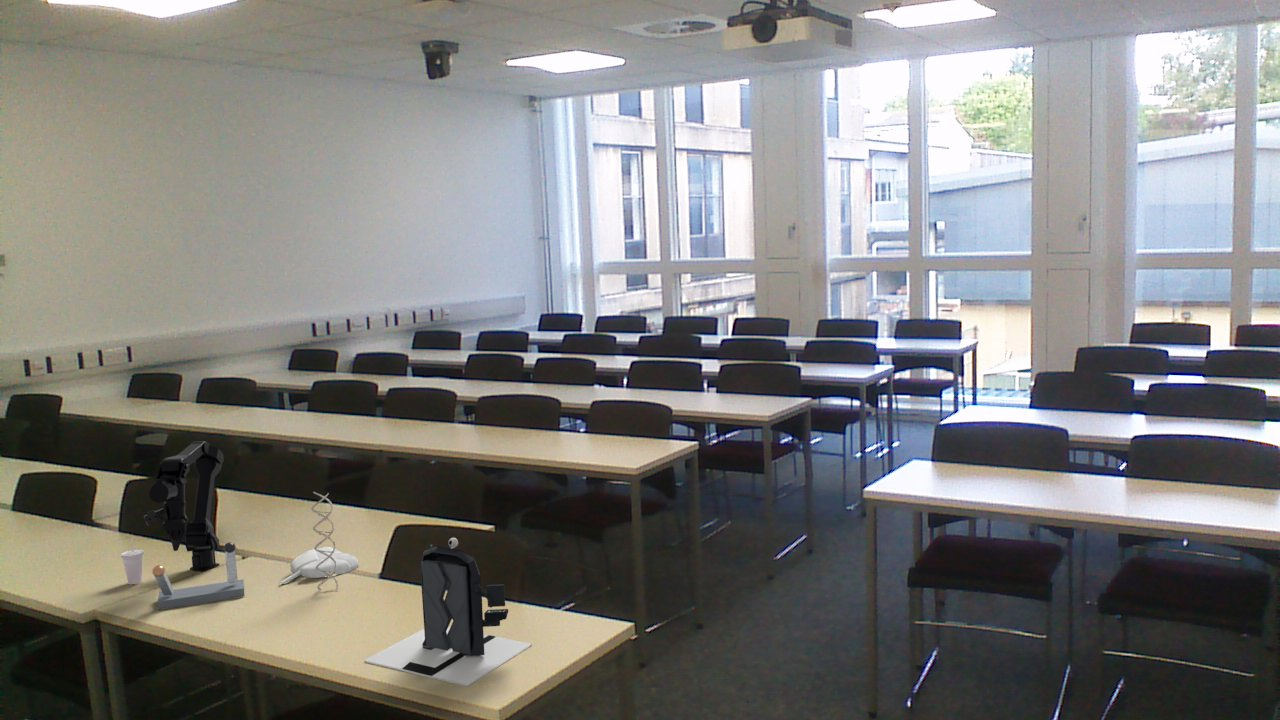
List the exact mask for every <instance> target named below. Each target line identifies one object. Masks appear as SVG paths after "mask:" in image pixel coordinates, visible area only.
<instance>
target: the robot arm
mask: <svg viewBox="0 0 1280 720" xmlns="http://www.w3.org/2000/svg"><path fill="white" fill-rule="evenodd" d="M224 459H225V456H224V453H223V452H222V451H221V450H220V449H219V448H218V447H216V446H214V445H211V444H210V443H209V442H208V441H205V440H203V441H202V440H201V441H192V442H190V444H189V445H188V446H187V447H186V448H184V449H183V450H182V451H180V452H179V453H178V454H177V455H173V456H168V457H165V458H163V459H162V460H161V462H160V463H159V466H158V468H157V472H156V475H155V478H154V482H155V484H153V485H152V486H151V487H150V489H149V491H148V495H149V498H150V499H151V501H152V502H153V503H157V504H159V503H160V504H161V503H163V505H162V508H160V509H157V510H154V509H151V510H149V511H147V512H146V513H147V514H145V515H144V516H143V520H144V521H145V523H146V525H147V527H149V526H152V525H153V524H155V523H158V522H159V521H163V523H162V525H161V526H162V531H164V532H166V533H167V534H168V535H169V538H170V541H171V546H172V549H173V550H172V551H173V552H177V551H179V548H180V545H181V543H182V540H183V539H184V540H183V542H184V544H185V549H186V552H188V553H189V552H191V565H192V566H191V567H189V570H190V571H191V570H194V571H200V572H206V571H208V570H211V569H214V568H216V567H218V566H220V563H219V562H218V563H217V562H216V552H215V550H218V549H219V548H220V539H219V537H217V535H216V533H215V528H214V526H213V524H212V522H211V513H212V506H213V505H212V504H213V498H214V497H213V495H214V487H215V481H216V480H215V479H216V477H217V475H218V474H219V473H220V472H221V470H222V466H223V463H224ZM193 463H194V468H195V470H196V472H197V474H198V483H197V489H196V497H195V498H196V499H195V505H194V511H193V513H194V514H193V519H192V520H191V521H190V522H188V516H187V514H186V484H187V483H188V480H187V479H186V477H187V475H188V473H189V472H190V470H191V469H190V466H191V465H192V464H193Z"/></svg>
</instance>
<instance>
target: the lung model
mask: <svg viewBox="0 0 1280 720" xmlns="http://www.w3.org/2000/svg"><path fill="white" fill-rule="evenodd" d="M333 548H334V547H330V546H322V547H319V548H318V547H317V549H318V550H320V551H326V552H324V553H326V554H328V555H330V554H331V553H330V552H332V551H333ZM327 551H329V552H327ZM327 557H328V556H326V555H324V554H321V553H320V552H318V551H316V550H315V549H314V548H311V549H309V550H306V551H304V552H303V553H301V554H300V555H298V556H297V557H295V558H293V559H292V561H291V562H290V568H289V569H290V571H291V573H292V574H291V575H289V576H288V577H286V578H285V579H283V580H281V581H280V582H279V584H280V583H282V584H284V583H286V582H288V581H289V582H291V581H293V580H295V579H296V578H298V577H299V576H303V577H307V578H310V579H311V578H312V579H315V578H326V577H325V576H329V575H327V574H325V573H323V572H320V571H318V570H317V569H316V566H317V565H318V564H319V563H320V562H322V561H323V560H324V559H326V558H327ZM331 557H333V558H334V560H335V561H336V564H337V569H336V571H335V573H334V574H340V575H344V574H347V573H349V572H351V571H353V570H356V569H358V568H359V566H360V565H359V559H358V558H357V557H355V556H354V555H352V554H351V553H345V552H341V551H340V550H338V549H336V548H335V551H334V553H333V554H332V555H331ZM318 568H319V569H320V570H324V571H326V572H327V573H328V574H330V575H331V574H332V572H333V571H334V568H335V563H334V561H333V560H332V559H331V558H328V559H327V560H326V561H325V562H324V563H322V564H321V565H319V566H318ZM328 571H332V572H328ZM289 582H288V583H289ZM286 584H287V583H286Z"/></svg>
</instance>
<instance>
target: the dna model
mask: <svg viewBox="0 0 1280 720" xmlns="http://www.w3.org/2000/svg"><path fill="white" fill-rule="evenodd" d="M312 492H313V494H314V495H317V496H318V497H320V498H321V499H320V500H318V501H317V502H316V503H314V504H313V505H312V507H311V511H312V513H315V514H317V515H318V516H320V517H323V518H322V519H321V520H319V521H318V522H317V523H316V524H315V525H314V526H313V527H312V530H313V531H314V532H315V533H317V534H318V535H319V536H321V535H322V536H324V538H323V539H322V540H320V541H319V542H318V543H316V545H315V546H314V548H313V549H315V550H316V551H318V552H320V553H321V554H324V555H326V556H328V557H327V558H326V559H324V560H323V561H322V562H320V563H319V564H318V565H317V566H316V569H317V570H318V571H320V572H323V573H325V574H327V575H329V577H326V579H324V580H323V581H321V582H320V583H319V584H317V586H316V587H317V589H318V590H319V589H321V590H322V588H321V586H322V585H323V584H325V583H326V582H327V581H328V580H330V579H331V578H332V579H333V580H334V582H335V584H336V585H335V586H336V588H335V590H337V591H338V589H339V581H338V579H337V578H336V576H332V575H333V574H334V573H335V571H336V569H337V564H336V561H335V560H334V558H333V557H331V555H332V554H333V553H334V551H335V549H336V541H335V540H334V539H332V537H330V536H332V534H333V533H334V531H335V524H334V522H333V521H332V520H331V519H330V518H329V516H330V515H331V514H332V513H333V508H334V507H333V503H332V501H331V500H330V499H329V498H327V497H328V495H330V493H329V492H327V494H326V495H322V494H321V493H317V492H316V491H312ZM324 500H326V501H327V503H329V505H330V509H329V511H319V510H315V507H316V506H317V505H320V503H321V502H322V501H324ZM324 514H326V515H324ZM326 520H327V521H329V523H330V524H331V530H330V531H324V530H323V531H322V530H317V529H316V527H318V526H319V525H320V524H321V523H323V522H325V521H326ZM325 533H327V534H328V535H326V534H325ZM327 539H329V540H330V541H331V542H332V544H333V547H332V548H333V551H332V552H330V553H331V554H330V555H328V554H326V553H324V552H326V551H320V550H318V547H319V546H320V545H321V544H322V543H324V542H325V541H326V540H327ZM327 552H329V551H327ZM328 558H331V559H332V560H333V561H334V563H335V568H334V571H333V572H332V571H328V572H332V574H331V575H330V574H328V573H327V572H326V571H324V570H320V569H319V568H318V566H319V565H321V564H322V563H324V562H325V561H326V560H327V559H328Z"/></svg>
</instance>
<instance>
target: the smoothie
mask: <svg viewBox="0 0 1280 720" xmlns="http://www.w3.org/2000/svg"><path fill="white" fill-rule="evenodd" d="M130 540H131V550H127V551H124V552H122V553H121V554H120V558H121V559H122V563H123V567H124V571H125V574H126V579H127V583H128V585H129V584H130V585H131V584H135V585H139V584H141V583H142V581H143V561H144V555H145V552H144V550H143V549H135V544H134V543H135V542H134V538H130ZM138 583H139V584H138ZM131 586H132V585H131Z"/></svg>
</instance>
